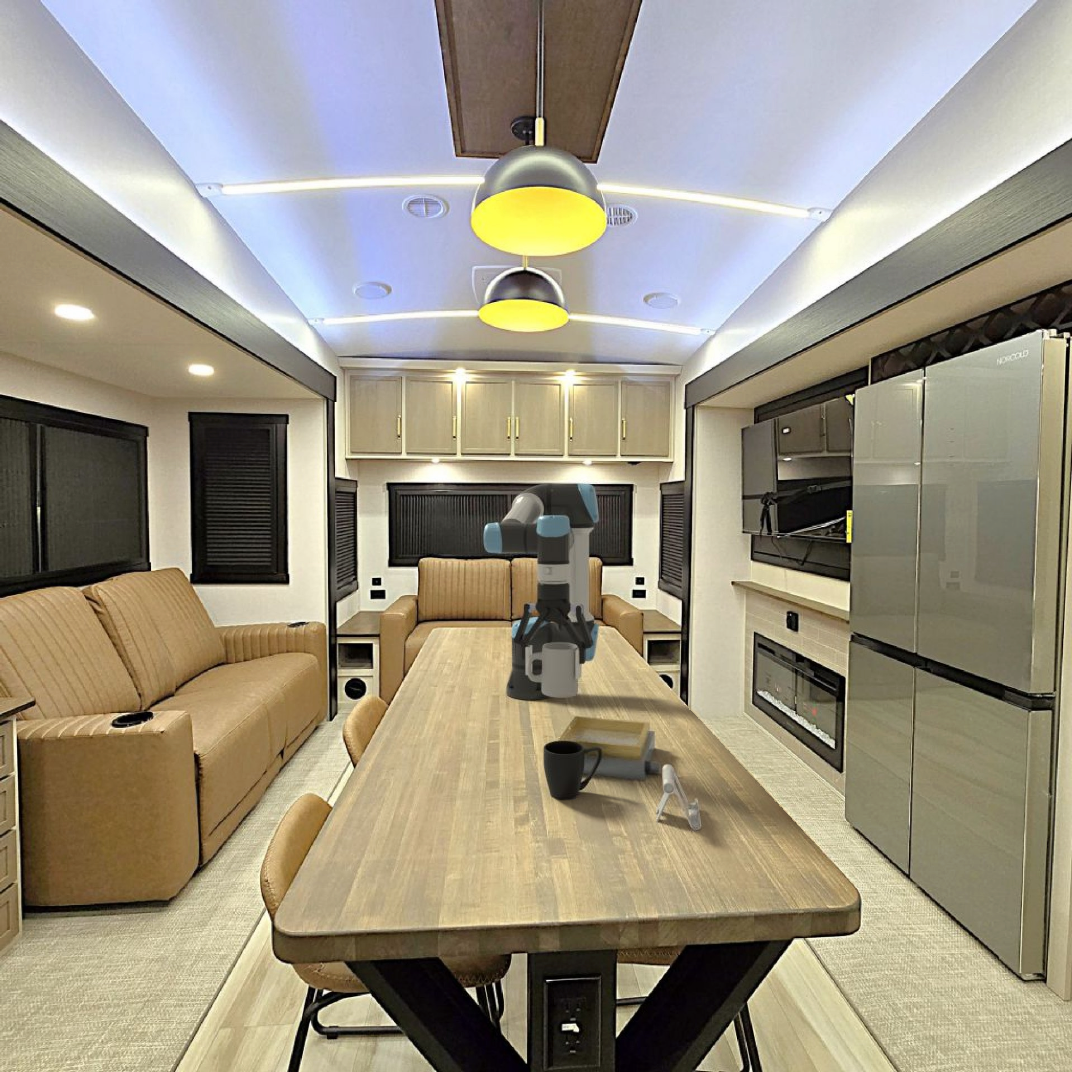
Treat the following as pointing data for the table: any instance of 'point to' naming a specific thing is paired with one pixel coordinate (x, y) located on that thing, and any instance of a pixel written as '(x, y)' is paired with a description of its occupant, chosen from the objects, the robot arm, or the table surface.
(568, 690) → the mug
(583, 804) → the table surface
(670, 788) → the portable electronic device stand
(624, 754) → the yellow and grey tray
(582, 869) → the table surface
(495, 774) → the table surface
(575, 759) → the mug
